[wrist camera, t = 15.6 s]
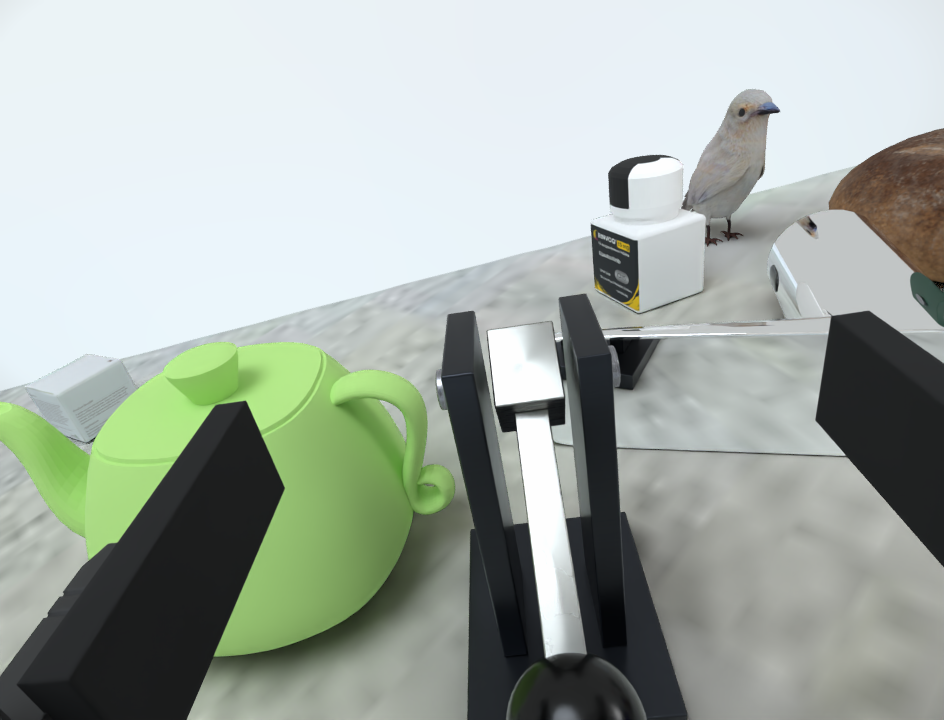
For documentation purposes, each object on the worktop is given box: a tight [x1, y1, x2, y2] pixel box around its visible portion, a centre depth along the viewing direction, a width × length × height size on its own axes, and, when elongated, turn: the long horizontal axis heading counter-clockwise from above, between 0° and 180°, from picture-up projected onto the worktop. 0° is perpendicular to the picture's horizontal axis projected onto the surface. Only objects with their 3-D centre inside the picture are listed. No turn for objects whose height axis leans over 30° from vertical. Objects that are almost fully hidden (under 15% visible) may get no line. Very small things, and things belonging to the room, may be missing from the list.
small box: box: [24, 354, 137, 442], centre depth 48 cm, size 6×6×5 cm
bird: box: [681, 89, 780, 247], centre depth 58 cm, size 5×14×15 cm, turn 16°
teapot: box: [0, 342, 455, 657], centre depth 28 cm, size 22×15×13 cm
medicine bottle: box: [591, 155, 706, 313], centre depth 50 cm, size 7×7×12 cm
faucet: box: [551, 210, 944, 456], centre depth 39 cm, size 25×8×19 cm
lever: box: [487, 321, 647, 720], centre depth 17 cm, size 13×4×4 cm
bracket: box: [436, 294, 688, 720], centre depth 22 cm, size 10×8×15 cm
